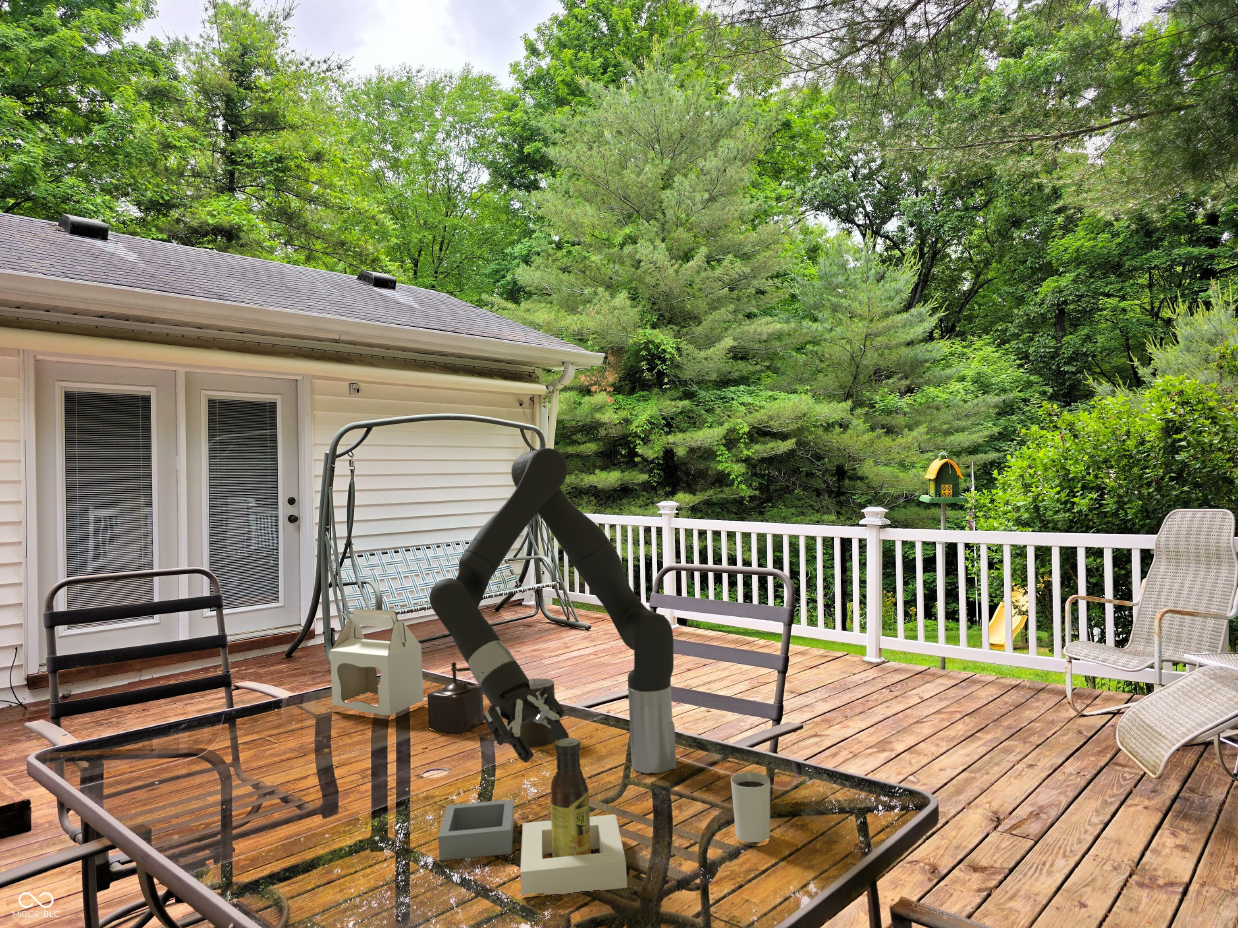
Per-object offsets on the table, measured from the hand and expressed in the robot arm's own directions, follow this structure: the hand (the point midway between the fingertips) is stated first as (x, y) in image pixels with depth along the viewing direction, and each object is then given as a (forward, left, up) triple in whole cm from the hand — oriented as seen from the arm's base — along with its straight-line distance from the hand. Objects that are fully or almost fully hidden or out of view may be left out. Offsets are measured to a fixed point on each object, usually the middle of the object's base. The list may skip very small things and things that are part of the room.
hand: (548, 750), depth 125 cm
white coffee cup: (-34, 0, -18) cm, 38 cm away
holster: (+13, -9, -18) cm, 24 cm away
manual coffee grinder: (+22, -74, -18) cm, 79 cm away
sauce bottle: (-3, +3, -18) cm, 18 cm away
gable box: (+47, -92, -18) cm, 105 cm away
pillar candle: (+3, -57, -18) cm, 60 cm away
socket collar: (-3, +3, -18) cm, 18 cm away
